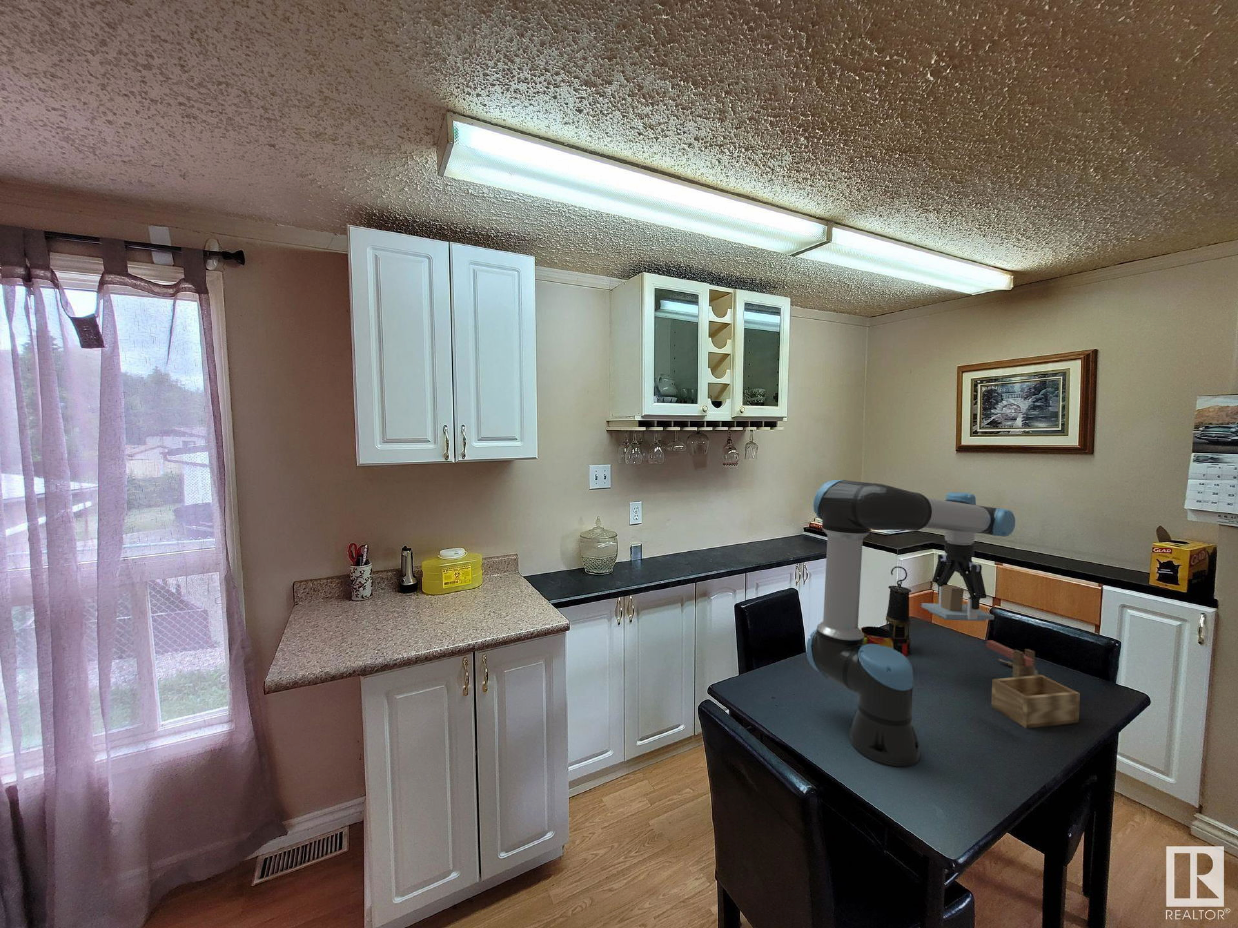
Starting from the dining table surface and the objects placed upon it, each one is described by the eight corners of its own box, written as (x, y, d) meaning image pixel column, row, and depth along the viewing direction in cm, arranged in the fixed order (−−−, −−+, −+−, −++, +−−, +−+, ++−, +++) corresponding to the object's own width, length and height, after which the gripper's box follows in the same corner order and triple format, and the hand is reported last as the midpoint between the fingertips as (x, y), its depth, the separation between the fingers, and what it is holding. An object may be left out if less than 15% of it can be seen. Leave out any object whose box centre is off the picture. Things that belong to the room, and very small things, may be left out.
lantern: (901, 657, 165) (903, 571, 164) (876, 647, 173) (878, 565, 172) (916, 651, 170) (918, 568, 168) (891, 642, 178) (893, 562, 176)
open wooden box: (1026, 728, 125) (1027, 698, 125) (991, 706, 135) (992, 679, 135) (1078, 722, 127) (1079, 693, 127) (1040, 701, 137) (1041, 674, 137)
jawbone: (1027, 667, 159) (1028, 662, 159) (1073, 702, 139) (1074, 695, 139) (997, 663, 161) (998, 657, 161) (1038, 697, 141) (1039, 690, 141)
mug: (907, 667, 158) (908, 632, 157) (879, 677, 152) (880, 640, 151) (880, 655, 167) (881, 622, 166) (853, 664, 161) (853, 629, 160)
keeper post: (1018, 697, 140) (1020, 652, 139) (1011, 693, 142) (1013, 649, 141) (1033, 696, 140) (1035, 651, 140) (1026, 692, 142) (1028, 648, 142)
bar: (1026, 666, 139) (1026, 659, 138) (986, 646, 151) (986, 640, 151) (1032, 665, 139) (1032, 658, 139) (991, 646, 152) (992, 640, 152)
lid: (945, 621, 144) (948, 591, 144) (921, 609, 154) (923, 581, 154) (993, 622, 146) (996, 593, 146) (966, 611, 156) (969, 583, 156)
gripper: (1004, 550, 138) (1001, 625, 139) (940, 534, 161) (939, 599, 162) (981, 551, 137) (978, 627, 138) (920, 535, 160) (919, 600, 161)
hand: (957, 612), depth 150 cm, fingers closed on lid, 10 cm apart
